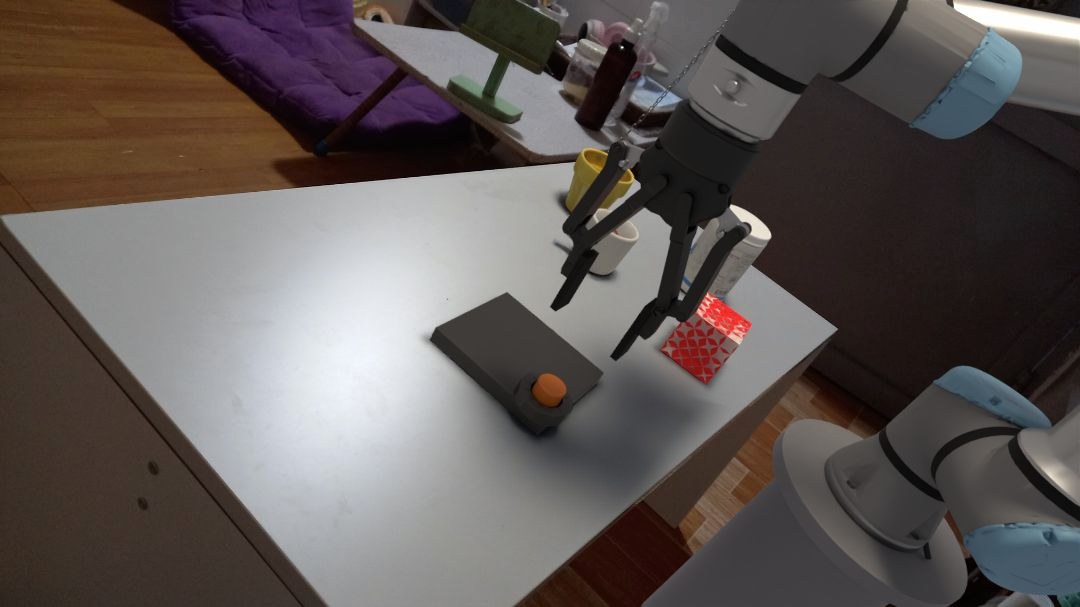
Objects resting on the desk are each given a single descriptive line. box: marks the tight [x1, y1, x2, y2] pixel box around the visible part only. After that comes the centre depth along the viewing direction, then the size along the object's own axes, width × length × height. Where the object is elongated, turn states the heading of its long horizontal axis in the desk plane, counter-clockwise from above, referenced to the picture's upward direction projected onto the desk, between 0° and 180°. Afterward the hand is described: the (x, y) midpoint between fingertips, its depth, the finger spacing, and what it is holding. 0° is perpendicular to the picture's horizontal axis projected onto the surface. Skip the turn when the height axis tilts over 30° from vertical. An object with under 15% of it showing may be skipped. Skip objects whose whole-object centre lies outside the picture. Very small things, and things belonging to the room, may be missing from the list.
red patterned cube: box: [659, 292, 753, 385], centre depth 91 cm, size 8×8×8 cm
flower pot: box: [565, 147, 635, 213], centre depth 112 cm, size 10×10×10 cm
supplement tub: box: [681, 204, 772, 302], centre depth 107 cm, size 10×10×15 cm
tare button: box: [532, 374, 566, 407], centre depth 67 cm, size 3×3×2 cm
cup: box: [565, 208, 640, 276], centre depth 99 cm, size 11×8×8 cm
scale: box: [429, 291, 605, 436], centre depth 74 cm, size 17×15×4 cm
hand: (588, 328), depth 63 cm, fingers open, 7 cm apart
